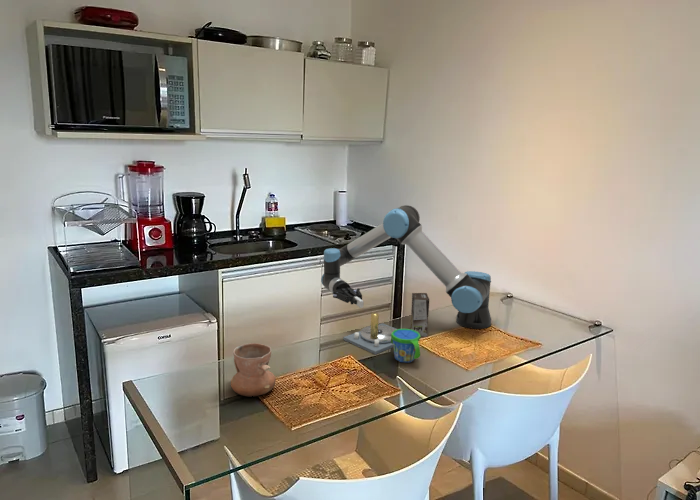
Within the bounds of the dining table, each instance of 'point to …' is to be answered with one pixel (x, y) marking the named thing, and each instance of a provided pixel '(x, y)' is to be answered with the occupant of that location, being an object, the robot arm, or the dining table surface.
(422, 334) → the coffee box
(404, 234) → the robot arm
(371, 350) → the stand
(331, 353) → the dining table surface
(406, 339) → the snack cup
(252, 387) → the ceramic jug
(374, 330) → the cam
